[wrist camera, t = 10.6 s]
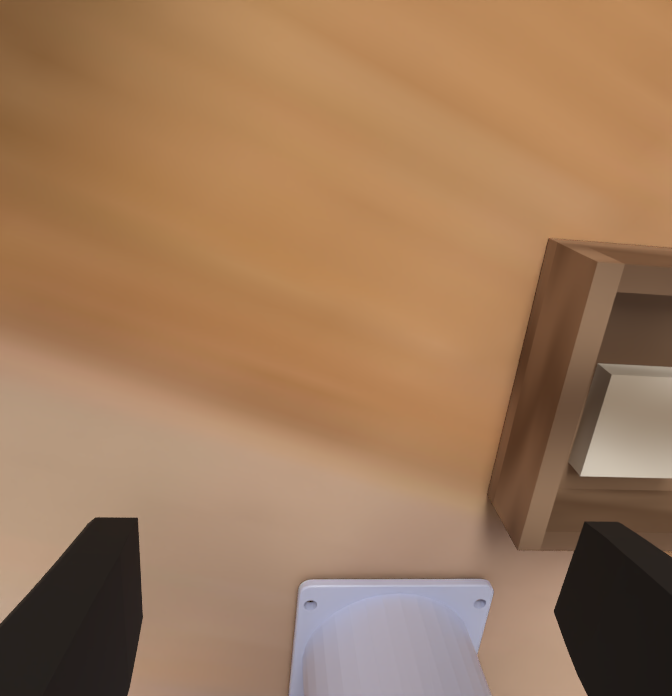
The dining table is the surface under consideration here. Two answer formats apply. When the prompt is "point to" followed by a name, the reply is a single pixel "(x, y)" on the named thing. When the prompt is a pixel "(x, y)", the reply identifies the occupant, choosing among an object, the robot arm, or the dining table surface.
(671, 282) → the walnut box
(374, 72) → the dining table surface
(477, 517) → the dining table surface
